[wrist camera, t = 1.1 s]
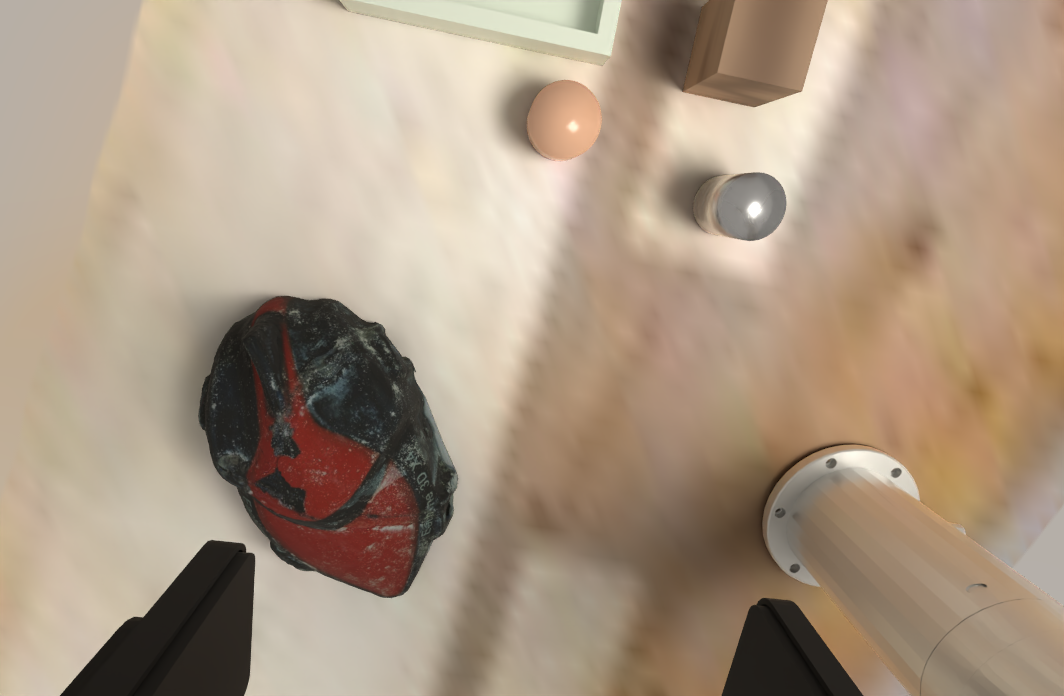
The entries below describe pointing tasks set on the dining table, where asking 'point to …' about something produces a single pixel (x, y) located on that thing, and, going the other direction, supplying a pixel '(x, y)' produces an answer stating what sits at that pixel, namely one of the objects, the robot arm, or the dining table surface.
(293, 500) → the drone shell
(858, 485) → the robot arm
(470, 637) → the dining table surface
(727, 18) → the walnut block
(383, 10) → the tray
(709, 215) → the grey cylinder
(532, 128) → the peach rounded capsule
